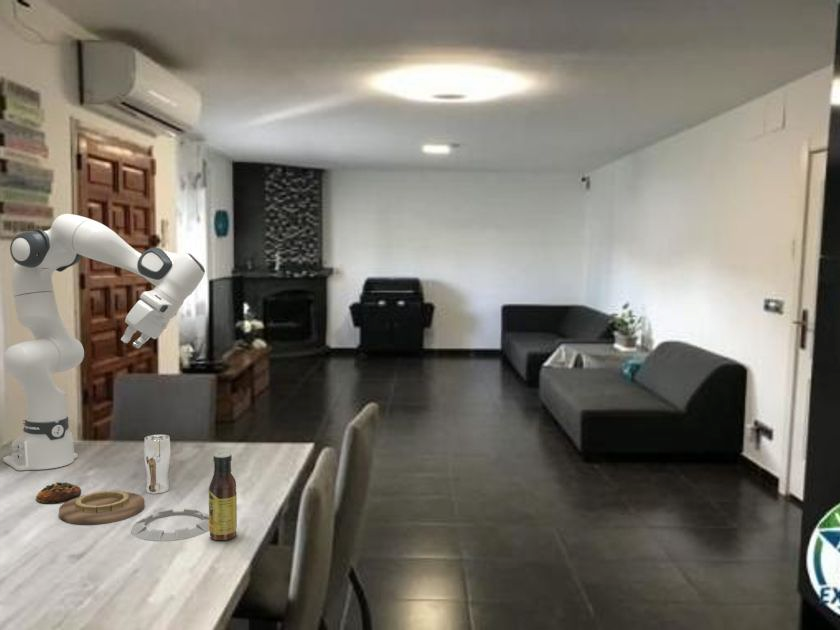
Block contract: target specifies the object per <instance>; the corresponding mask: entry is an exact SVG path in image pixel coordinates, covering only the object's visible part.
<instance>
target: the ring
mask: <svg viewBox="0 0 840 630" xmlns="http://www.w3.org/2000/svg"><path fill="white" fill-rule="evenodd" d="M174 516H188V517H189V516H190V517H195V518H198V519H200V522H198V523H196V525H195V527H193V528H190V529H189V527H183V528H177V529H175V530H174V532H165V531H164V529H155V528H152V529H150V530H149V529H147V525H148V524H149V523H151V522H153V521H155V520H156V521H157V520H158V519H161V518H167V517H174ZM130 530H131V531H130V532H131V534H132V536H134V537H135V538H137V539H141V540H145V541H148V542H149V541H150V542H175V541H182V540H187V539H191V538H195V537H197V536H201V535H203V534H205V533H207V532H210V531H209V513H206V512H202V511H199V510H196V509H192V508H184V509H183V510H174V509H173V508H171V509H166V510H165V509H163V510H160V511H159V512H158V513H156V514H149V515H147V516H145V517H144V518H141V519H140V520H138V521H136V522H135V523H134V524H133V525H132V526H131V528H130Z"/></svg>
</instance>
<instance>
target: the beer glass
mask: <svg viewBox="0 0 840 630" xmlns="http://www.w3.org/2000/svg"><path fill="white" fill-rule="evenodd" d="M170 439H171V438H170V436H169V435H167V434H152V435H147V436H145V437H144V442H143V460H144V466H145V471H146V477H147V479H146V481H147V482H146V487H145V491H146V493H148V494H153V495H154V494H155V495H158V494H163V493H166V492H168V491H169V490H170V485H169V480H168V475H169V467H170V464H171V463H170V462H171V453H172V452H171V440H170Z"/></svg>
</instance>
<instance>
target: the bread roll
mask: <svg viewBox="0 0 840 630" xmlns="http://www.w3.org/2000/svg"><path fill="white" fill-rule="evenodd" d="M81 493H82V489H81V487H80V486H78V485H76V484H73V483H69V482H67V481H65V482H55V483H52V484H50V485H46V486H45V487H43V488H42V489H41V490H40V491H39V492H38V493H37V494H36V496H35V498H36V499H35V500H36V501H38V502H39V503H40V504H64V503H66V502H67V501H70V500H72V499H74V498H77V497H81Z"/></svg>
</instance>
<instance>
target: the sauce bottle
mask: <svg viewBox="0 0 840 630" xmlns="http://www.w3.org/2000/svg"><path fill="white" fill-rule="evenodd" d="M213 464H214V467H213V476H212V478H211V481H210V484H209V487H208V514H209V531H208V532H209V536H210V538H211V539H212V540H214V541H228V540H231V539H233V538H234V537H235V536H236V535H237V525H238V524H237V523H238V522H237V521H238V520H237V519H238V517H237V515H238V513H237V507H238V506H237V505H238V504H237V503H238V502H237V501H238V500H237V498H238V497H237V492H238V491H237V483H236V482H237V481H236V479H235V477H234V475H233V474H232V467H231V466H232V453H231V452H225V451H222V452H216V453H214V455H213Z"/></svg>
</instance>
